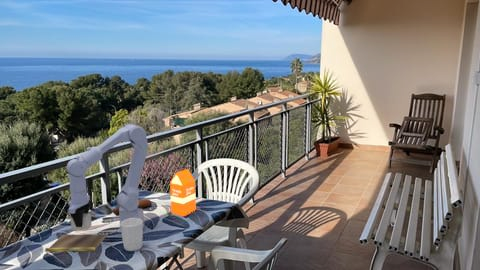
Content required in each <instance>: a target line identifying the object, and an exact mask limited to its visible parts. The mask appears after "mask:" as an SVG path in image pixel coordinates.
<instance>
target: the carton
mask: <svg viewBox="0 0 480 270" xmlns="http://www.w3.org/2000/svg"><path fill="white" fill-rule="evenodd" d="M70 225H71V226H70V227H71V230H72V231H83V230H85V231H86V230H87V231H88V230H89V229H90V228H91V227H92V226H93V225H92V214H91V212H90V213H89V212H88V213H84V214H83V224H82V227H76V225H75V223H74V220H73V218H72V217H71V216H70Z"/></svg>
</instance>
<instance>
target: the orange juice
mask: <svg viewBox="0 0 480 270" xmlns="http://www.w3.org/2000/svg"><path fill="white" fill-rule="evenodd" d="M169 183H170V184H169V185H170V187H169V188H170V209H171V211H170V212H171V214H173V215H177V216H180V217H185V216H187V215H190V214H192V213H194V212H195V210H197V207H196V204H197V203H196V198H197V197H196V181H195V179H194V177H193V175H192V173H191V171H190V170H189V168H187V169H186V168H185V169H183V170H180V171H178V172H175V174H174V176H173V177H172V179H171V180H170V182H169ZM193 211H194V212H193ZM191 212H192V213H191Z"/></svg>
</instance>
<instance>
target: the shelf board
mask: <svg viewBox="0 0 480 270" xmlns="http://www.w3.org/2000/svg"><path fill="white" fill-rule="evenodd" d="M107 236H108V233H107V234H106V233H105V234H104V233H101V234H97V233H96V234H89V233H88V234H62V235H61V236H60V237H59V238H58V239H57V240H56V241H55V242H54V243H52V245H50V246H49V247H46V248H45V249H44V251H45V252H49V253H50V252H95V251H96V250H97V249H98V247H99V246H100V245H101V244H102V242H104V240H105V238H106V237H107Z"/></svg>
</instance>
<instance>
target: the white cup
mask: <svg viewBox="0 0 480 270" xmlns="http://www.w3.org/2000/svg"><path fill="white" fill-rule="evenodd" d="M143 228H144V227H143V221H142V219H139V218H130V219H126V220H124V221H122V222H121V231H122V232H121V237H122V238H121V240H122V242H123V243H122V244H123V248H124V251H127V252H135V251H138V250H140V249H142V248H143V239H144V238H143V236H144V235H143Z"/></svg>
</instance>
